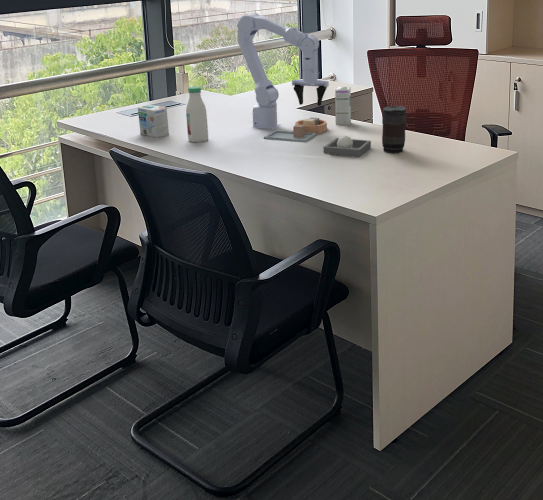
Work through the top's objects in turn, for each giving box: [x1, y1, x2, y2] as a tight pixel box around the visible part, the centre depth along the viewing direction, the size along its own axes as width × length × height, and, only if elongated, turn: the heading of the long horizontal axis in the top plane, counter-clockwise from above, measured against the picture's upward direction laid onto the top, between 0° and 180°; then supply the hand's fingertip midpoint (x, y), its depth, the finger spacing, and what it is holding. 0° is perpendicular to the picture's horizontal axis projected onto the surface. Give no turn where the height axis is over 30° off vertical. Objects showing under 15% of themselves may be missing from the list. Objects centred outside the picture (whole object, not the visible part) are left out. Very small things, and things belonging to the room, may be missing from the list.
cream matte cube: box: [302, 118, 315, 126], centre depth 263 cm, size 4×4×4 cm
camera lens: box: [381, 105, 407, 154], centre depth 233 cm, size 8×8×15 cm
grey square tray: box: [323, 137, 372, 158], centre depth 237 cm, size 13×13×3 cm
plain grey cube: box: [308, 117, 320, 125], centre depth 267 cm, size 4×4×4 cm
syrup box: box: [334, 86, 352, 127], centre depth 272 cm, size 6×6×14 cm
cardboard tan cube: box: [292, 125, 305, 137], centre depth 256 cm, size 4×4×4 cm
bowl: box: [294, 118, 328, 134], centre depth 265 cm, size 12×12×3 cm
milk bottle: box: [185, 86, 209, 143], centre depth 255 cm, size 8×8×20 cm
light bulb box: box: [137, 104, 170, 138], centre depth 268 cm, size 11×7×11 cm, turn 47°
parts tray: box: [263, 129, 317, 143], centre depth 257 cm, size 17×11×1 cm, turn 65°
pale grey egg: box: [336, 135, 353, 149], centre depth 237 cm, size 8×6×6 cm
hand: (310, 104), depth 264 cm, fingers open, 7 cm apart
